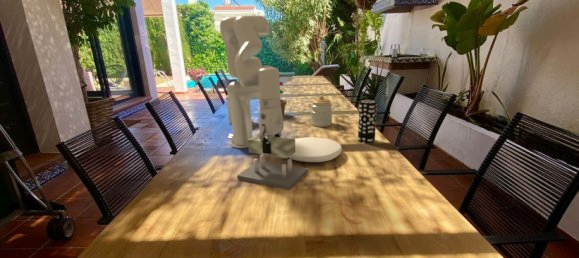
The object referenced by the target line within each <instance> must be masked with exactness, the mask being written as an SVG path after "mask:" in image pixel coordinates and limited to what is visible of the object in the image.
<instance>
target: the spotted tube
mask: <svg viewBox="0 0 579 258" xmlns="http://www.w3.org/2000/svg"><path fill="white" fill-rule="evenodd" d="M377 108H378V100H377V101H376V100H373V99H363V100H359V102H358V127H357V142H359V143H361V144H374V143H375V142H376V127H377V125H376V124H377V113H378V112H377V110H378V109H377Z"/></svg>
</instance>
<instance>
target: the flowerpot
mask: <svg viewBox="0 0 579 258" xmlns="http://www.w3.org/2000/svg"><path fill="white" fill-rule="evenodd" d="M281 77H282V75H281V74H279V80H280V79H281ZM283 85H284V82H282V81H280V86H283ZM284 92H285V91H283V90H282V89H280V95H282V94H284ZM280 104H281V109H282V115H283V117H285V111H286V106H287V105H288V104H287V100H286V99H281V98H280Z"/></svg>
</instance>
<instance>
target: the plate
mask: <svg viewBox="0 0 579 258" xmlns="http://www.w3.org/2000/svg"><path fill="white" fill-rule="evenodd" d="M294 139H295V153H293V154H292V155H291V156H289V157H288V158H289V159H291V160H293V161H294V160H295V161H298V162H304V163H322V162H329V161H331V160H333V159H335V158H337V157H338V156H340V154H342V151H343V148H342V145H341V144H340V143H339V142H337V141H335V140H332V139H329V138H324V137H318V136H317V137H310V136H309V137H299V138H294ZM288 158H287V159H288Z"/></svg>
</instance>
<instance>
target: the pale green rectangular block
mask: <svg viewBox="0 0 579 258" xmlns="http://www.w3.org/2000/svg"><path fill="white" fill-rule="evenodd" d="M265 138H266V139H267V137H266V136H265ZM295 139H296V138H289V137H288V138H287V137H283V136H281V137H274V136H271V137H270V142H269V143H271V154H266V153H263V148H262V143H261V140H260V138H259V137H258V134H257V135H253V136H252V138H250V139H248V146H249V147H248V153H252V154H258V155H264V156H269V157H277V158H282V159H288V157H289V156H291V155H292V154H293V153H295Z"/></svg>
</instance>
